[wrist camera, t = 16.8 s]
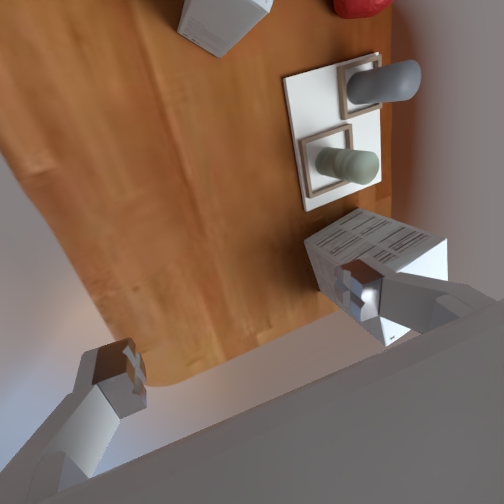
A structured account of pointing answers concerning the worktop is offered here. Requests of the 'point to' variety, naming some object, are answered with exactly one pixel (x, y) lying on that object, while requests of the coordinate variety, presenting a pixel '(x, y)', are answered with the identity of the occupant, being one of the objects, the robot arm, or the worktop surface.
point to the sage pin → (348, 164)
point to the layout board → (342, 116)
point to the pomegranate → (359, 8)
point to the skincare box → (220, 22)
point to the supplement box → (382, 249)
